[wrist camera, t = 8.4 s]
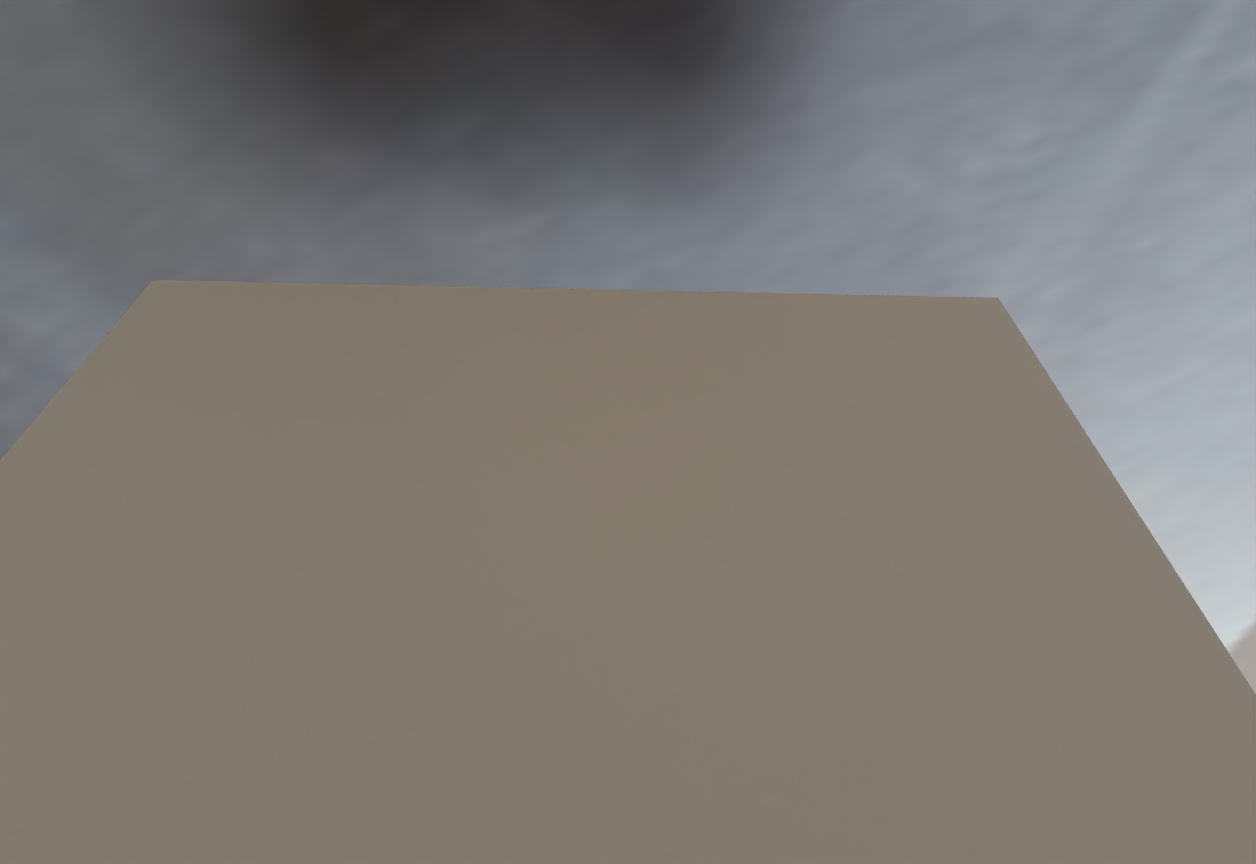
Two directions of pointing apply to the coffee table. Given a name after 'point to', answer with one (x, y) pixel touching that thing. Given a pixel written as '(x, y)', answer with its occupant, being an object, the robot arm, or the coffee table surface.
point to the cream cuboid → (593, 593)
